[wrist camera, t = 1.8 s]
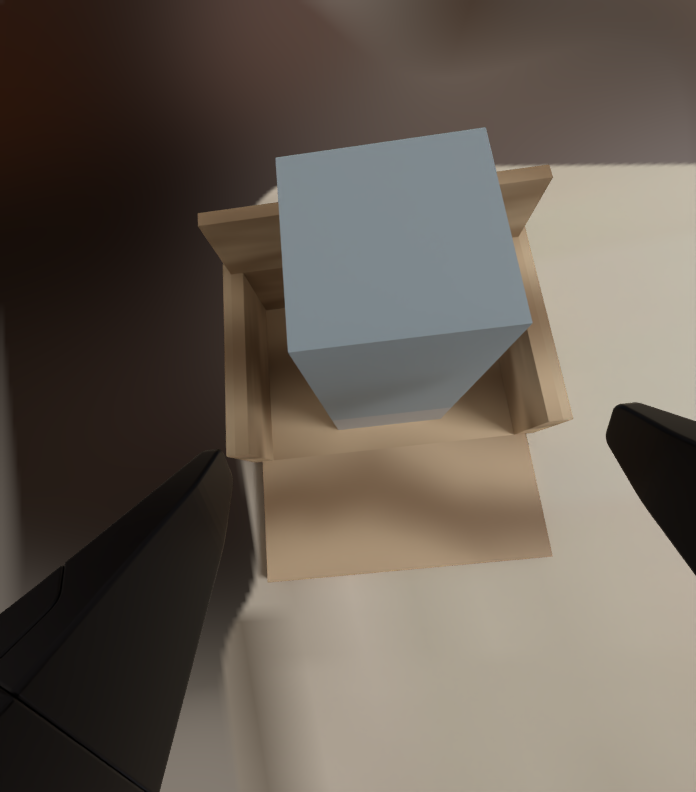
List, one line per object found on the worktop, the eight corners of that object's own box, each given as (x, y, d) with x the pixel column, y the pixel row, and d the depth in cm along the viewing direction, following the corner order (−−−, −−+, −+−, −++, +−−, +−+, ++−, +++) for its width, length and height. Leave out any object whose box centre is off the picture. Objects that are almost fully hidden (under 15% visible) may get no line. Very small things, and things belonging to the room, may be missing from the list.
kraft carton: (556, 553, 18) (688, 603, 11) (262, 580, 19) (185, 646, 11) (494, 276, 22) (559, 162, 14) (252, 307, 23) (188, 214, 15)
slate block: (440, 418, 20) (532, 323, 8) (338, 430, 20) (287, 352, 8) (424, 324, 21) (485, 127, 10) (329, 336, 21) (275, 157, 10)
